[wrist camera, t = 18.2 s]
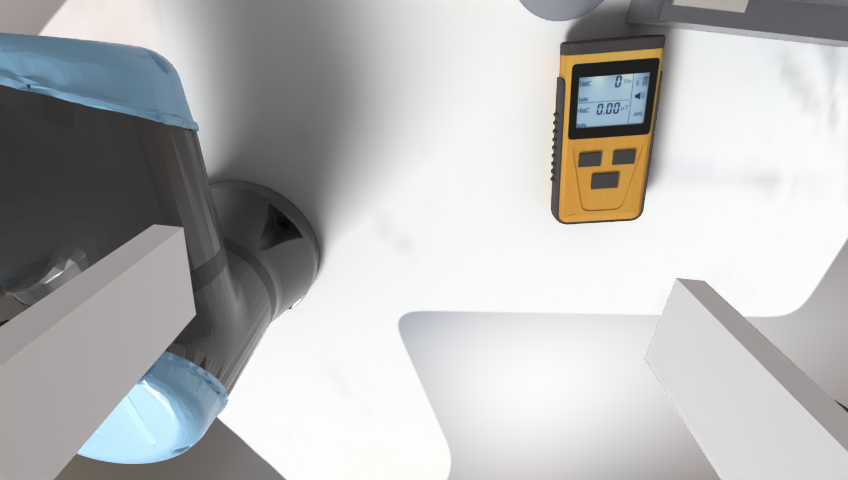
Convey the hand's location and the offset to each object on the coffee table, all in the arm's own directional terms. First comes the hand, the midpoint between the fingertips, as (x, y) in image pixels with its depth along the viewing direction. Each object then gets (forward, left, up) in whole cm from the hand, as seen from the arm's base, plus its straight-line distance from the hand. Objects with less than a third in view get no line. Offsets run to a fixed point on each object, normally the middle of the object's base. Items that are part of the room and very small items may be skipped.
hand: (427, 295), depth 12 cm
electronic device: (+16, -7, -32) cm, 37 cm away
